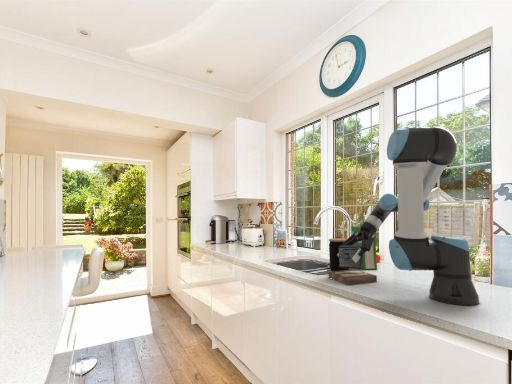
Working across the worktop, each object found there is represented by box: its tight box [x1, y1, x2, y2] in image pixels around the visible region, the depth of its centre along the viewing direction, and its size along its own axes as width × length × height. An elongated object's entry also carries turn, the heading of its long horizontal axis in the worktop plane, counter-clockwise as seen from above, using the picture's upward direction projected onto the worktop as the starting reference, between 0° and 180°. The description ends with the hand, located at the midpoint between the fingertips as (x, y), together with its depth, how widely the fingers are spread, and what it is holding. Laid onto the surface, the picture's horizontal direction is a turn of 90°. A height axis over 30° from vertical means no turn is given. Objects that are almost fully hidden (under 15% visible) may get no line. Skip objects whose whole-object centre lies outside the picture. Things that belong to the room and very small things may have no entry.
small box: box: [338, 245, 363, 270], centre depth 138 cm, size 11×6×10 cm, turn 58°
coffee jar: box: [328, 237, 351, 272], centre depth 157 cm, size 11×11×18 cm
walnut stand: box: [328, 269, 378, 286], centre depth 137 cm, size 16×16×3 cm
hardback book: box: [350, 225, 378, 272], centre depth 167 cm, size 18×7×24 cm, turn 1°
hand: (346, 258), depth 137 cm, fingers closed on small box, 11 cm apart
